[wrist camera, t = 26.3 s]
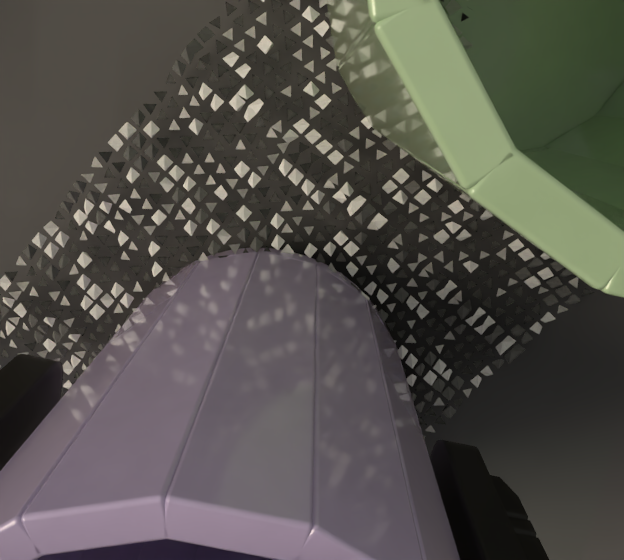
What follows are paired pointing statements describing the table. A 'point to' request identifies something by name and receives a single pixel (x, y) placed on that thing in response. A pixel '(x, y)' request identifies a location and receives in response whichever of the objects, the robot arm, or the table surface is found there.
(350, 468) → the lavender cup
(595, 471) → the table surface
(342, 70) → the sage cup
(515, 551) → the robot arm
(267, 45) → the rug
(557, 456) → the table surface
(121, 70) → the table surface
